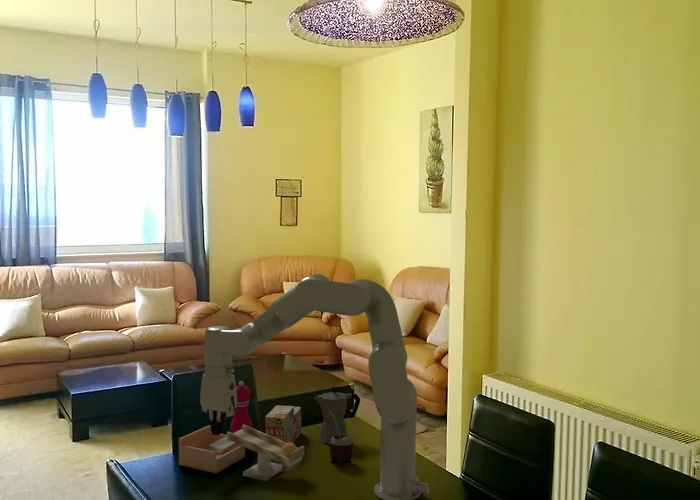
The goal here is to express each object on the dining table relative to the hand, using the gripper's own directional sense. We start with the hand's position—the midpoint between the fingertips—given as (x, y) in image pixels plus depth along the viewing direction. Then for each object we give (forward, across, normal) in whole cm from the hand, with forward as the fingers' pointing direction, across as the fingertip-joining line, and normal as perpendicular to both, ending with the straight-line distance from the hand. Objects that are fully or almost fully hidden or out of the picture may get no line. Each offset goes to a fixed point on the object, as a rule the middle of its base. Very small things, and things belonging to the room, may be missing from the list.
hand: (217, 433), depth 190 cm
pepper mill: (+13, +12, -29) cm, 34 cm away
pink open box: (+13, +9, -10) cm, 19 cm away
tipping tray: (+8, -9, -6) cm, 13 cm away
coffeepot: (+13, -16, -44) cm, 48 cm away
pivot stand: (+13, -10, -10) cm, 19 cm away
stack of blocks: (+13, -2, -33) cm, 36 cm away
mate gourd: (+13, -26, -27) cm, 39 cm away
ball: (+4, -18, -10) cm, 21 cm away
